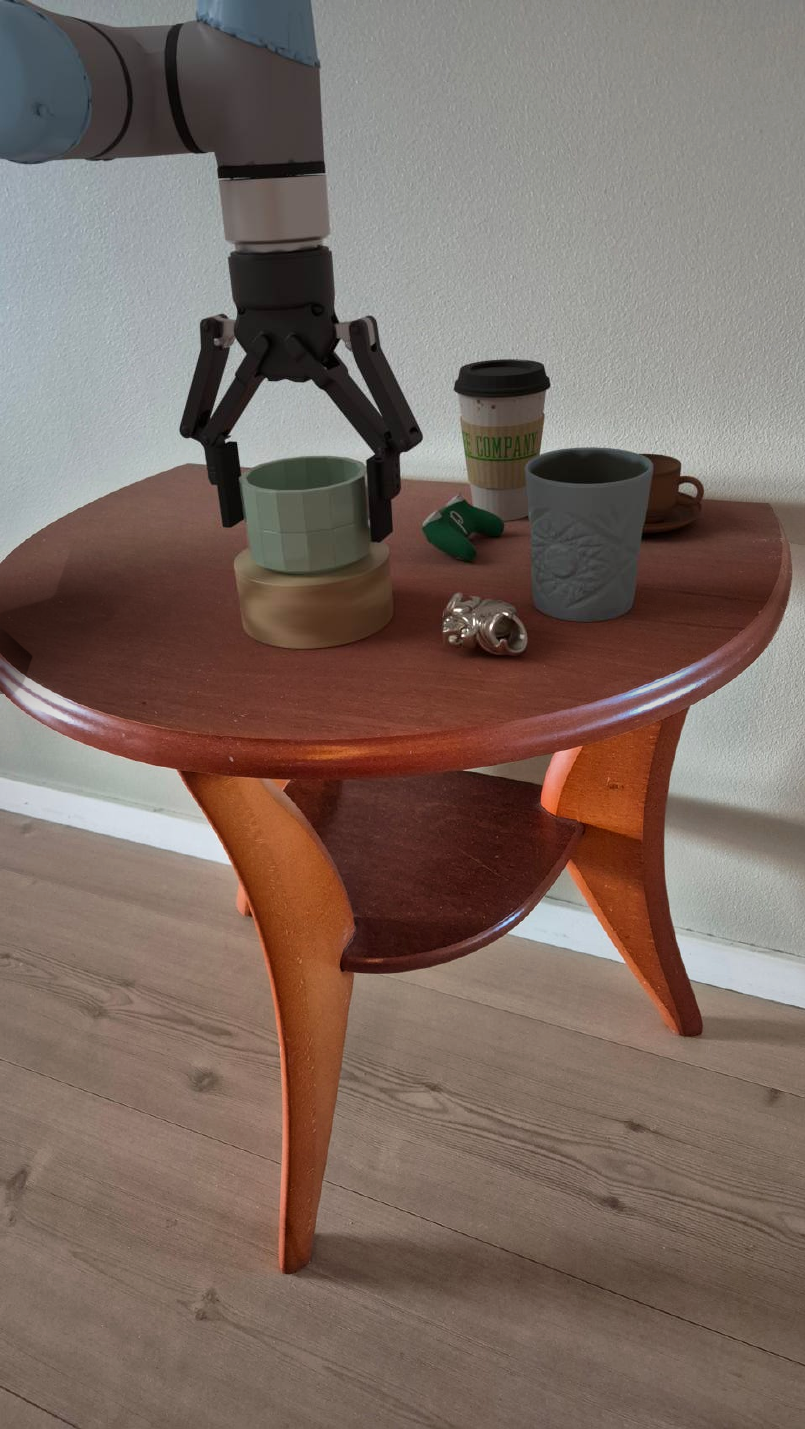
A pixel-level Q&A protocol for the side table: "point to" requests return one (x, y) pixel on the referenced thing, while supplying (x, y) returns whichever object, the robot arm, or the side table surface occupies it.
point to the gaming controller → (460, 527)
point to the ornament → (483, 626)
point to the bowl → (306, 513)
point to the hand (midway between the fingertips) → (306, 530)
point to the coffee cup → (501, 430)
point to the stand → (315, 602)
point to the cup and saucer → (670, 496)
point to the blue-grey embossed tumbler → (586, 530)
